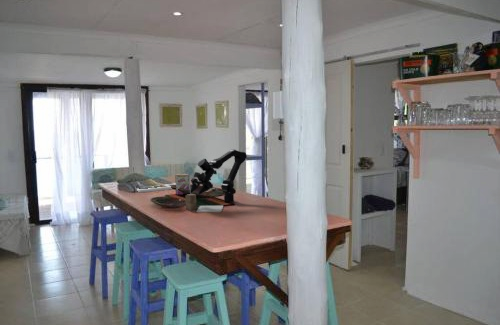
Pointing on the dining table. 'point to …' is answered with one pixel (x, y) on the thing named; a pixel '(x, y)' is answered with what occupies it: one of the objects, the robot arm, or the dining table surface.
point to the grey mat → (210, 209)
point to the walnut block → (190, 201)
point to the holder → (156, 188)
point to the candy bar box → (182, 182)
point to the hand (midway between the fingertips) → (194, 193)
